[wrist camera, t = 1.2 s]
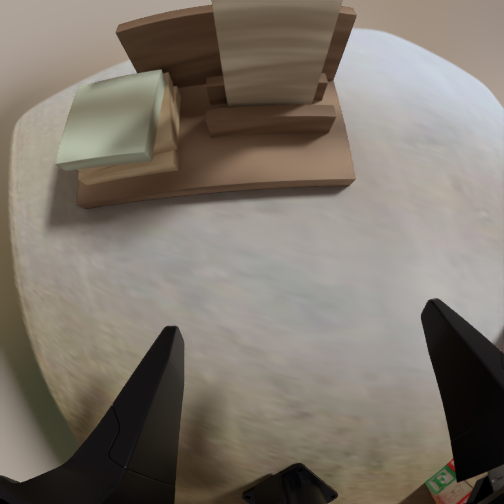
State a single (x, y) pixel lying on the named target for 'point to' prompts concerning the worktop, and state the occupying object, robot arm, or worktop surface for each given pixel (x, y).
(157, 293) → the worktop surface
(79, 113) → the offcut stack
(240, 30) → the birch board
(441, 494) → the stack of blocks
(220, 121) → the offcut rack
